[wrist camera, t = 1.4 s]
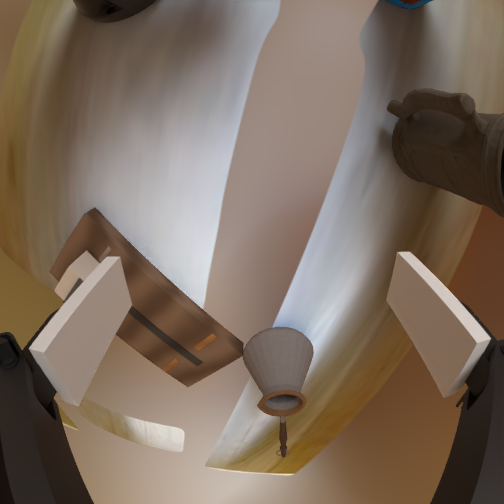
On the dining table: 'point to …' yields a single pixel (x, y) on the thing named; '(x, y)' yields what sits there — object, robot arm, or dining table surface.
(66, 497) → the robot arm
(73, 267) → the fader knob
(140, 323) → the fader panel
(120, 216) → the dining table surface
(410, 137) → the beer stein
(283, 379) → the coffee pot
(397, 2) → the thermos
